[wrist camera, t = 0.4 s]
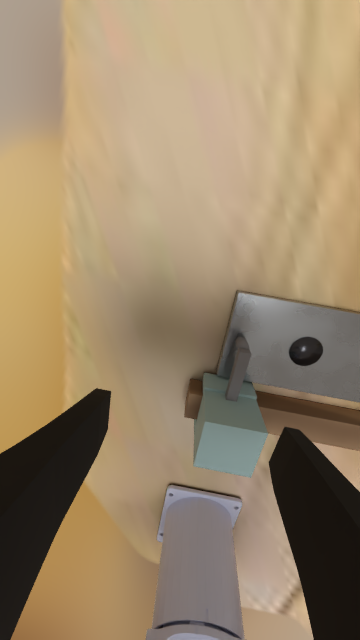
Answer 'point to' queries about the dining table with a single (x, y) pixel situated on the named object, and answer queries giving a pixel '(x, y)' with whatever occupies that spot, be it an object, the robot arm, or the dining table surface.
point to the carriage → (229, 421)
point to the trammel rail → (296, 417)
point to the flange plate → (295, 345)
